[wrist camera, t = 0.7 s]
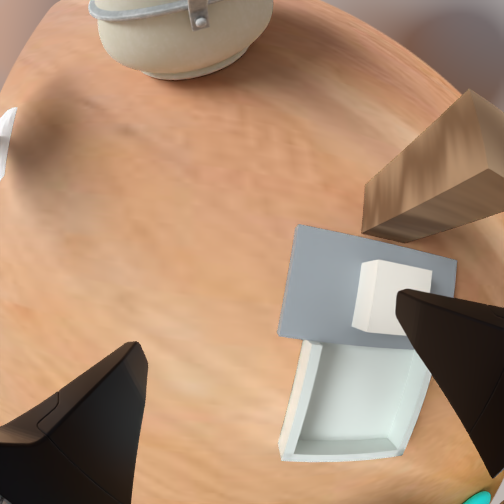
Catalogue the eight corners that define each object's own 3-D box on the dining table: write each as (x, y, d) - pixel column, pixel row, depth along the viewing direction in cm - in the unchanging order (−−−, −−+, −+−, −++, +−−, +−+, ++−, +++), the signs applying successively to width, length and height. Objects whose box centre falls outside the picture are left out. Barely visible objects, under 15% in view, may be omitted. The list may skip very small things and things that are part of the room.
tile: (403, 331, 20) (422, 336, 17) (351, 326, 20) (366, 332, 17) (412, 272, 21) (432, 270, 18) (361, 262, 21) (378, 259, 18)
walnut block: (404, 243, 22) (536, 199, 8) (361, 233, 22) (488, 168, 8) (406, 196, 23) (519, 125, 8) (364, 184, 23) (468, 88, 8)
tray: (389, 441, 20) (402, 455, 17) (277, 442, 20) (281, 460, 17) (419, 347, 21) (437, 353, 18) (303, 336, 21) (311, 344, 18)
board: (435, 347, 21) (444, 350, 20) (276, 332, 21) (279, 336, 20) (447, 261, 22) (457, 260, 21) (295, 228, 22) (298, 224, 21)
